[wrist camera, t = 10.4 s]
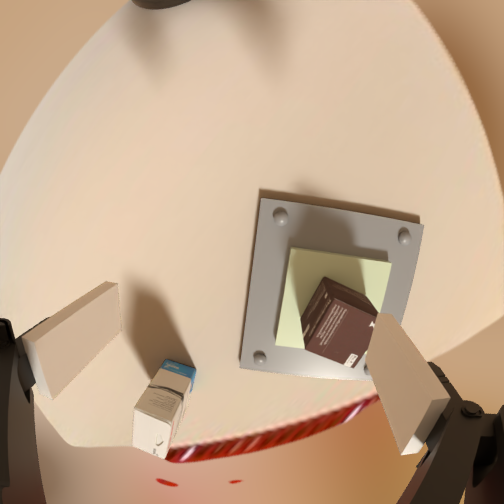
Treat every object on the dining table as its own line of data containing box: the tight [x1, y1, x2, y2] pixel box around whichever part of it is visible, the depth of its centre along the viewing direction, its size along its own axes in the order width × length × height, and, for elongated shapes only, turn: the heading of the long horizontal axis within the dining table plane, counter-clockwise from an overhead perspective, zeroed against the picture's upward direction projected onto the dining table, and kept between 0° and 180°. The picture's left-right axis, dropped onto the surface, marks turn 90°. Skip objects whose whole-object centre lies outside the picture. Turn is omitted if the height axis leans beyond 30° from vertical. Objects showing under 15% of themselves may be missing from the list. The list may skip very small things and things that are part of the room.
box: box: [300, 276, 379, 368], centre depth 30 cm, size 6×6×7 cm
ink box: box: [132, 359, 196, 459], centre depth 35 cm, size 8×5×12 cm, turn 164°
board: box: [240, 198, 424, 381], centre depth 34 cm, size 22×20×2 cm
